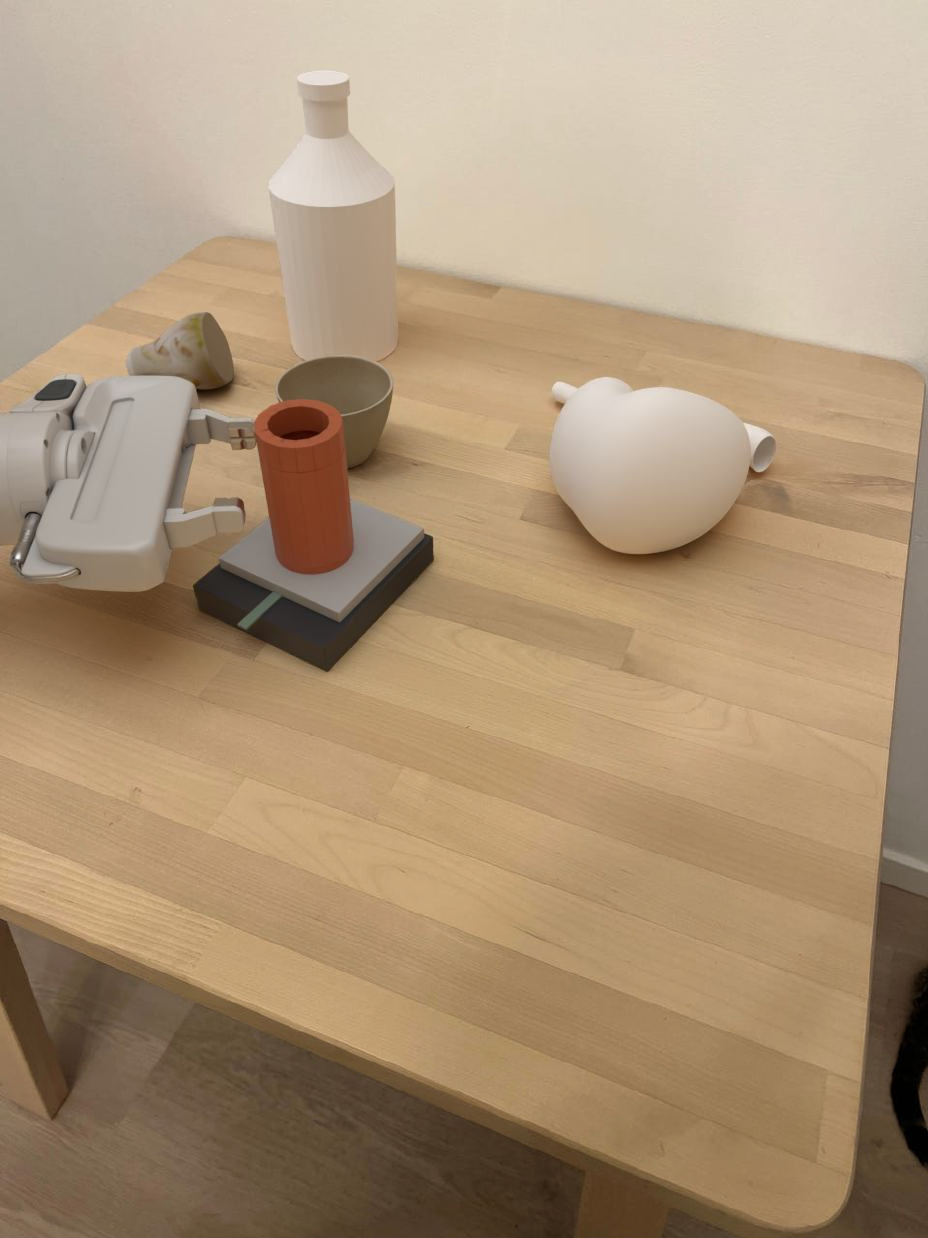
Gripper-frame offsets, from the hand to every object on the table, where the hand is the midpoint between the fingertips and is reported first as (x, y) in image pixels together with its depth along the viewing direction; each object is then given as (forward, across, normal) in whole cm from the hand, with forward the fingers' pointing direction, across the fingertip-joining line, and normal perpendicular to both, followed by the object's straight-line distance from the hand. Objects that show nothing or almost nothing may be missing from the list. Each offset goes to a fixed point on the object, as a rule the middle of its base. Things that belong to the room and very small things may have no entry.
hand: (250, 471), depth 64 cm
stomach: (+30, +11, +11) cm, 34 cm away
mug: (-11, +30, +11) cm, 34 cm away
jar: (+4, 0, +7) cm, 8 cm away
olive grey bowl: (+5, +18, +11) cm, 21 cm away
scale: (+4, 0, +11) cm, 12 cm away
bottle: (+5, +38, +11) cm, 40 cm away
